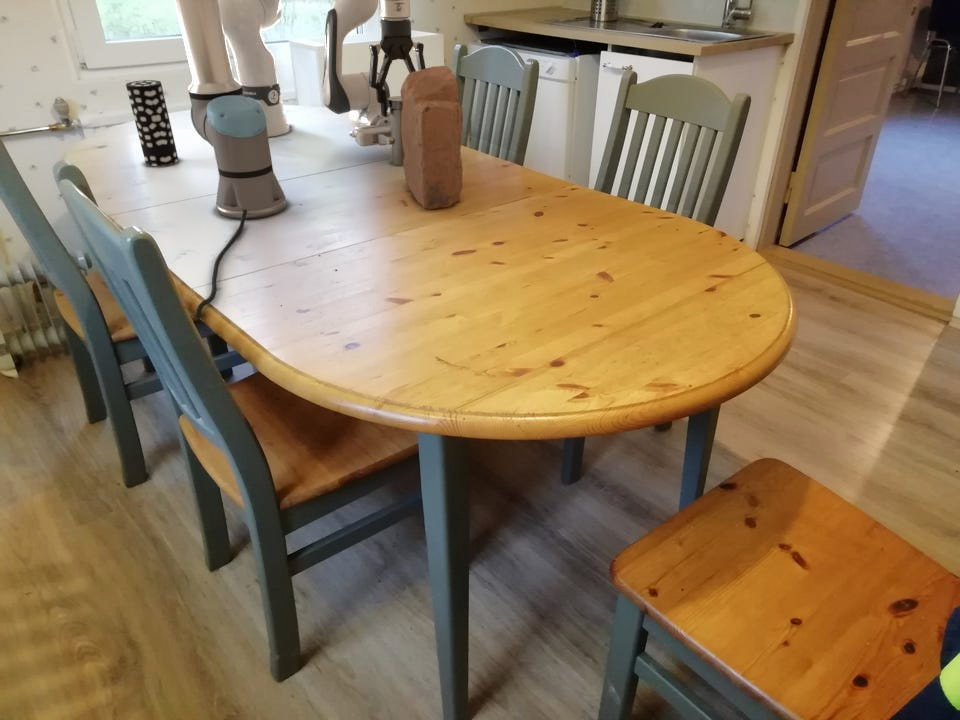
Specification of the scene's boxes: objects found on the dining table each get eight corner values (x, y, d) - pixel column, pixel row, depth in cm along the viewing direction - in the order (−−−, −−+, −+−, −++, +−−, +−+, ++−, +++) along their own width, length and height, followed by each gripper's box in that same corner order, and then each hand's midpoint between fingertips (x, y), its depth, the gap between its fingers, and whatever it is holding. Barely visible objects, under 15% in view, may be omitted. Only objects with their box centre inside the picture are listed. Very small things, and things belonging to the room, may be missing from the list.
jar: (409, 166, 186) (406, 104, 177) (390, 165, 187) (386, 102, 178) (414, 160, 190) (412, 99, 181) (396, 159, 191) (392, 98, 182)
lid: (415, 105, 181) (414, 97, 180) (403, 109, 177) (403, 101, 176) (395, 102, 184) (395, 95, 183) (383, 107, 179) (383, 99, 178)
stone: (472, 206, 159) (470, 76, 145) (424, 211, 156) (418, 79, 142) (446, 181, 177) (443, 63, 162) (403, 185, 174) (396, 65, 159)
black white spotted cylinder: (184, 157, 190) (167, 80, 179) (169, 166, 183) (151, 87, 172) (155, 156, 190) (136, 79, 179) (139, 165, 183) (119, 86, 172)
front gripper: (358, 22, 163) (365, 121, 175) (440, 18, 170) (442, 113, 182) (349, 18, 168) (357, 114, 181) (429, 15, 176) (431, 107, 188)
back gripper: (345, 121, 188) (365, 132, 178) (413, 112, 197) (435, 123, 187) (348, 144, 191) (367, 157, 181) (414, 135, 200) (436, 146, 190)
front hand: (400, 114), depth 181 cm, fingers open, 8 cm apart
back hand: (402, 139), depth 184 cm, fingers closed on jar, 5 cm apart
